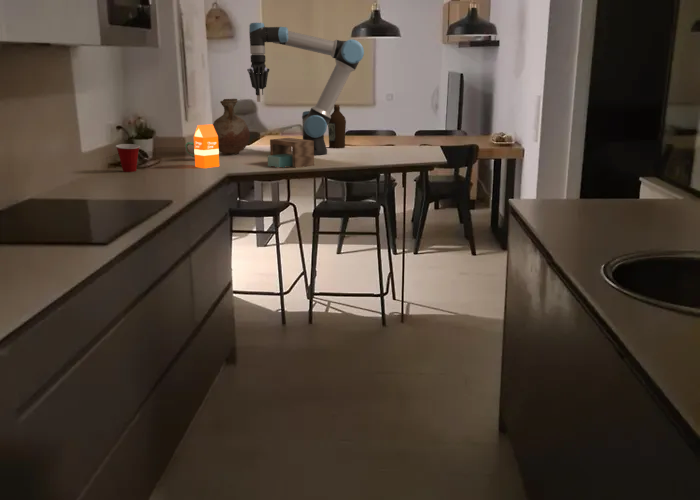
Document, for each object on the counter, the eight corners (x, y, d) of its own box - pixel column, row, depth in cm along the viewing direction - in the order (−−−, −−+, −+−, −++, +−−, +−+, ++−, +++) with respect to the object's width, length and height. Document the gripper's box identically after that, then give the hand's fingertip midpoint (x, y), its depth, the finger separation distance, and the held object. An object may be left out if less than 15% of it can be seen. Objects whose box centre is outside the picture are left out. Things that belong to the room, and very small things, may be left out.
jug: (241, 150, 392) (239, 97, 384) (257, 155, 374) (255, 98, 366) (205, 153, 381) (202, 98, 373) (219, 157, 363) (216, 99, 355)
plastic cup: (128, 173, 309) (125, 147, 306) (112, 171, 315) (110, 145, 312) (147, 170, 318) (145, 144, 315) (131, 168, 324) (129, 143, 320)
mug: (210, 158, 361) (209, 139, 358) (217, 160, 352) (216, 140, 350) (183, 160, 353) (182, 140, 351) (189, 162, 345) (188, 142, 343)
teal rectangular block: (279, 167, 327) (279, 157, 326) (267, 165, 333) (267, 155, 332) (298, 165, 335) (298, 155, 334) (287, 163, 341) (286, 153, 340)
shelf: (289, 161, 349) (288, 137, 345) (314, 165, 335) (313, 140, 332) (270, 163, 340) (269, 139, 337) (295, 167, 327) (294, 142, 324)
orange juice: (195, 166, 330) (192, 124, 325) (210, 164, 337) (208, 123, 331) (204, 168, 325) (202, 125, 320) (219, 166, 331) (217, 124, 326)
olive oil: (339, 146, 416) (339, 104, 409) (349, 147, 408) (349, 104, 401) (324, 147, 410) (324, 104, 403) (334, 148, 402) (334, 105, 395)
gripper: (263, 54, 357) (265, 101, 363) (243, 54, 348) (245, 102, 354) (272, 54, 352) (274, 101, 358) (252, 54, 343) (254, 102, 349)
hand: (259, 101), depth 356 cm, fingers closed
